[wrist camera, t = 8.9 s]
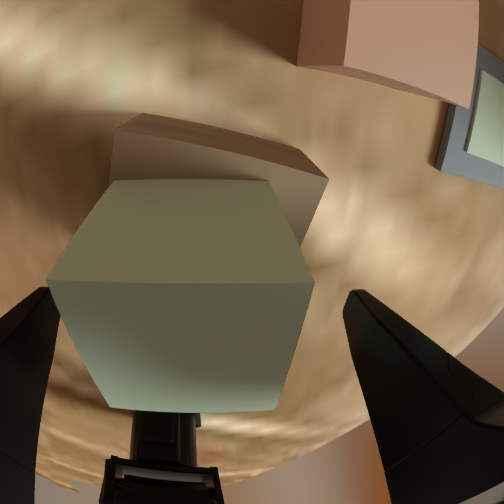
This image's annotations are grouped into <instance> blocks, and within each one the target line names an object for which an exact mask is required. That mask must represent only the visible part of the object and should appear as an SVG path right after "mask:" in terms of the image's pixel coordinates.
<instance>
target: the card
mask: <svg viewBox="0 0 504 504" xmlns="http://www.w3.org/2000/svg"><path fill="white" fill-rule="evenodd" d="M434 168H436V169H438V170H439V171H441V172H445V173H449V174H453V175H457V176H460V177H464V178H468V179H472V180H475V181H479V182H482V183H485V184H489V185H492V186H495V187H499V188H502V189H504V61H502V60H501V59H500V58H498V57H497V56H496V55H494V54H493V53H491V52H490V51H489V50H487V49H486V48H484V47H483V46H481V45H480V44H479V43H478V47H477V58H476V67H475V76H474V83H473V90H472V96H471V102H470V107H469V109H466V108H463V107H460V106H457V105H454V104H451V103H449V107H448V112H447V117H446V122H445V126H444V131H443V135H442V140H441V144H440V148H439V152H438V156H437V160H436V163H435V167H434Z"/></svg>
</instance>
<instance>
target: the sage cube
mask: <svg viewBox="0 0 504 504" xmlns="http://www.w3.org/2000/svg"><path fill="white" fill-rule="evenodd" d="M46 281H47V283H48V286H49V289H50V291H51V294H52V296H53V299H54V301H55V304H56V306H57V308H58V311H59V313H60V315H61V318H62V320H63V322H64V324H65V326H66V328H67V331H68V333H69V335H70V337H71V339H72V341H73V343H74V345H75V347H76V349H77V351H78V353H79V355H80V357H81V359H82V360H83V362H84V364H85V366H86V368H87V370H88V371H89V373H90V375H91V377H92V378H93V380H94V382H95V384H96V385H97V387H98V389H99V390H100V392H101V394H102V395H103V397H104V398H105V400H106V402H107V403H108V405H109V406H110V407H112V408H120V409H130V410H142V411H157V412H180V413H224V412H247V411H262V410H274V409H276V406H277V403H278V401H279V398H280V395H281V392H282V389H283V386H284V383H285V380H286V377H287V374H288V371H289V368H290V365H291V362H292V358H293V355H294V352H295V349H296V346H297V342H298V339H299V336H300V333H301V329H302V326H303V322H304V319H305V316H306V312H307V309H308V305H309V302H310V298H311V294H312V291H313V287H314V283H315V282H314V279H313V277H312V275H311V272H310V270H309V268H308V265H307V263H306V261H305V258H304V256H303V254H302V252H301V249H300V247H299V245H298V242H297V240H296V238H295V236H294V234H293V231H292V229H291V227H290V225H289V222H288V220H287V218H286V216H285V214H284V212H283V209H282V207H281V205H280V203H279V201H278V199H277V196H276V194H275V192H274V190H273V188H272V186H271V184H270V182H269V181H257V180H228V179H143V180H115V181H113V183H112V184H111V185H110V186H109V188H108V189H107V190H106V191H105V193H104V194H103V195H102V197H101V198H100V199H99V201H98V202H97V203H96V205H95V206H94V207H93V209H92V210H91V211H90V213H89V214H88V215H87V217H86V218H85V220H84V221H83V222H82V224H81V225H80V227H79V228H78V230H77V231H76V233H75V234H74V235H73V237H72V238H71V240H70V241H69V243H68V245H67V246H66V248H65V249H64V251H63V252H62V254H61V255H60V257H59V259H58V260H57V262H56V263H55V265H54V267H53V268H52V270H51V272H50V273H49V275H48V277H47V278H46Z"/></svg>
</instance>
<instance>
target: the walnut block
mask: <svg viewBox="0 0 504 504" xmlns="http://www.w3.org/2000/svg"><path fill="white" fill-rule="evenodd" d="M143 179H228V180H257V181H269V182H270V184H271V186H272V188H273V190H274V192H275V194H276V196H277V199H278V201H279V203H280V205H281V207H282V209H283V212H284V214H285V216H286V218H287V220H288V222H289V225H290V227H291V229H292V231H293V234H294V236H295V238H296V240H297V242H298V245H299V247H300V246H301V244H302V241H303V239H304V237H305V235H306V232H307V230H308V228H309V225H310V223H311V221H312V218H313V216H314V214H315V211H316V209H317V207H318V204H319V202H320V200H321V197H322V195H323V192H324V190H325V188H326V185H327V183H328V180H329V179H328V178H327V177H326V175H325V174H324V173H323V172H322V171H321V170H320V169H319V168H318V167H317V166H316V165H315V164H314V163H313V162H312V161H311V160H310V159H309V158H308V157H307V156H306V155H305V154H304V153H303V152H302V151H301V150H299V149H296V148H292V147H289V146H286V145H282V144H279V143H276V142H272V141H269V140H265V139H261V138H258V137H254V136H250V135H246V134H242V133H238V132H234V131H230V130H226V129H222V128H218V127H213V126H209V125H204V124H199V123H195V122H190V121H185V120H180V119H174V118H169V117H163V116H157V115H151V114H145V113H142V114H140V115H138V116H137V117H135V118H133V119H132V120H130V121H129V122H127V123H125V124H124V125H122V126H121V127H119V128H118V129H116V130H115V135H114V141H113V148H112V156H111V164H110V173H109V182H108V188H109V186H110V185H111V184H112V183H113V181H115V180H143Z"/></svg>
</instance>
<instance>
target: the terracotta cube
mask: <svg viewBox="0 0 504 504" xmlns="http://www.w3.org/2000/svg"><path fill="white" fill-rule="evenodd" d="M478 30H479V0H303V10H302V20H301V29H300V38H299V47H298V56H297V64H296V66H298V67H304V68H310V69H316V70H321V71H326V72H331V73H336V74H341V75H345V76H349V77H354V78H358V79H362V80H366V81H369V82H373V83H377V84H380V85H384V86H387V87H390V88H394V89H397V90H401V91H406V92H410V93H414V94H418V95H422V96H426V97H430V98H434V99H437V100H441V101H444V102H447V103H451V104H454V105H457V106H460V107H463V108H466V109H469V107H470V102H471V96H472V90H473V83H474V76H475V67H476V58H477V47H478Z"/></svg>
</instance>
